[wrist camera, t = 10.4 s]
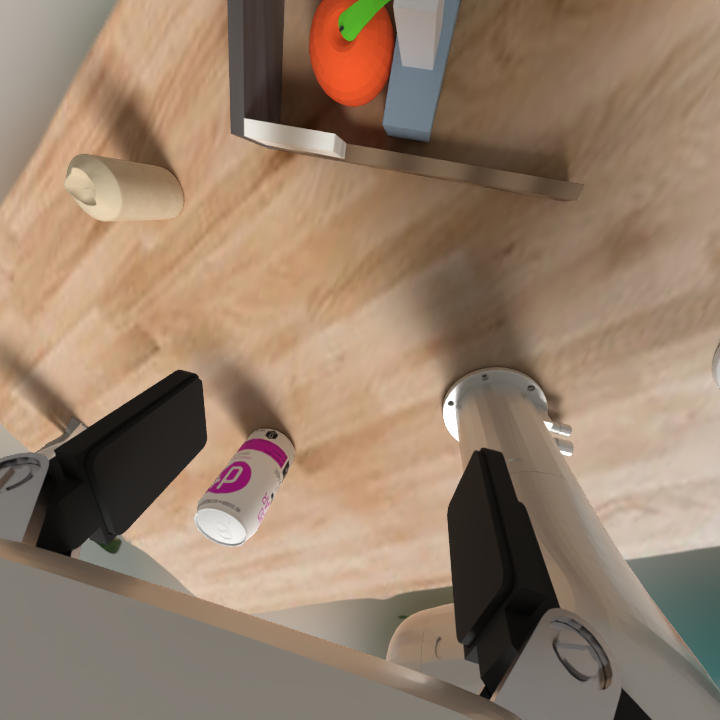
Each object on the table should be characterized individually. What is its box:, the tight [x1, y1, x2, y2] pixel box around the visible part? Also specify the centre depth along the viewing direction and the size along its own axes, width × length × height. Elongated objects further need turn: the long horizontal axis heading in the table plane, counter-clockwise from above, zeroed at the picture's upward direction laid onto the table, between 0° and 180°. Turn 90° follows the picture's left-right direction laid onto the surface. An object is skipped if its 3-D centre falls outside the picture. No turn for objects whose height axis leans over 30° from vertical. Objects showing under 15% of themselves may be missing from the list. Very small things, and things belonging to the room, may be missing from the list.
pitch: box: [227, 0, 583, 201], centre depth 24 cm, size 30×15×7 cm, turn 81°
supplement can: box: [194, 429, 295, 547], centre depth 44 cm, size 8×8×15 cm
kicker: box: [382, 0, 461, 143], centre depth 21 cm, size 4×10×12 cm, turn 171°
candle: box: [64, 154, 184, 221], centre depth 32 cm, size 6×6×10 cm
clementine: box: [309, 0, 395, 107], centre depth 24 cm, size 8×7×7 cm
